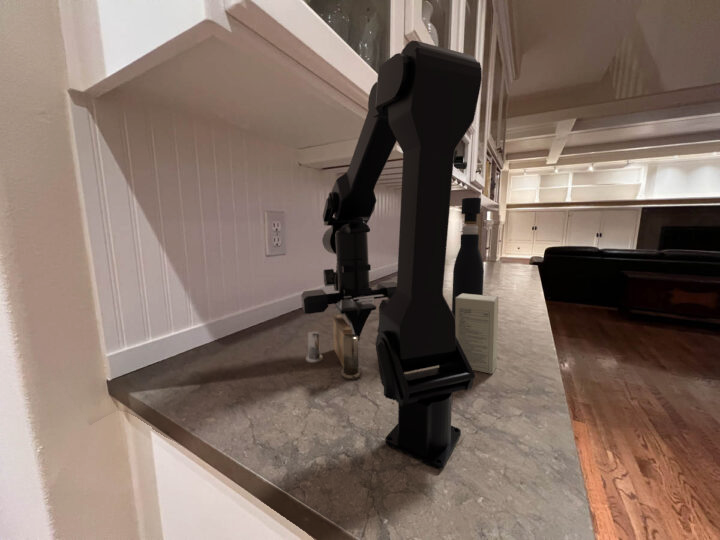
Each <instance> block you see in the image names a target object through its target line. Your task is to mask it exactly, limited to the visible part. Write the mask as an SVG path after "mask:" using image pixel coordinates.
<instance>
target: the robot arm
mask: <svg viewBox="0 0 720 540" xmlns="http://www.w3.org/2000/svg"><path fill="white" fill-rule="evenodd" d="M482 72H483V70H482V65H481V62H480V61H477V59H476V57H474V56H473V54H467V53H463V52H461V51H456V50H453V49H449V48H445V47H441V46H439V45H438V46H437V45H435V44H430V43H426V42H422V41H419V40H411V41H409V42H408V43H406V45H405V46H404V47H403V49H402V50H401V52H397V53H395V54H394V55H392V56H391V57H390V58H389V59H387V60H385V62H383V63H381V65H379V66H378V68H377V79H376V80H377V81H376V82H374V84H373V85H372V86H371V89H370V90H369V91H370V92H369V95H368V103H367V109H368V111H367V114H366V117H365V120H364V123H363V125H362V129H361V131H360V133H359V138H358V140H357V143H356V146H355V149H354V152H353V155H352V158H351V161H350V163H349V166H348V168H347V171H346V172H345V173H344V174H342V175H341V176H339V177H338V178H337V179H336V180H335V182H334V185H333V187H332V188H331V191H330V192H329V193H328V196H327V198H326V200H325V204H324V209H323V214H322V220H323V225H324V226H325V227H326V226H331V227H329V228H328V229H326V231H325V232H324V234H323V236H322V240H321V243H322V246H323V248H324V249H325V250H326V251H327V252H328V253H330V254H332V255H336V264H335V265H336V266H335V268H336V271H335V270H334V269H333V268H328V269H324V270H323V283H324V287H333V290H334V291H335V292H334V293H333V292H331V293H326V292H325V291H324V289H323V288H322V289H314V290H313V289H312V290H304V291H303V292H302V293H301V295H300V298H301V308H302V310H303V312H304V314H308V315H312V314H318V313H324V312H326V310H327V309H328V308H329V305H334V306H335V308H336V310H337V311H338V312H339V313H340V315H345V317H346V319H347V321H348V325H349V326H350V328H351V329H352V334H355V335H357V336H358V343H360V338H361V334H362V331H363V329H364V326H365V324H366V322H367V320H368V319H369V317H370V315H371V313H372V311H375V310H377V305H375V304H374V302H375V300H377V299H381V301H380V304H379V306H378V327H377V336H376V339H375V351H376V356H377V357H376V358H377V364H378V371H379V378H380V381H381V382H380V383H381V386H382V387H383V396H384V397H385V399H390V400H392V401H396V403H397V404H398V407H397V408H398V411H397V412H398V414H397V417H398V418H397V424H396V425H395V426H394V428H392V429H391V431H390V432H389V433H388V434H387V435H386V436H385V445H387V446H390V447H392V448H394V449H395V450H397V451H399V452H402V453H404V454H406V455H408V456H410V457H412V458H415V459H417V460H418V461H420V462H423V463H425V464H427V465H429V466H431V467H433V468H435V469H438V470H442V469H444V468H445V466H446V464H447V463H448V460H449V458H450V456H451V455H452V453H453V450H454V449H455V447H456V445H457V443H458V441H459V439H460V437H461V435H462V434H461V433H462V431H461V429H460V428H459V427H456V426H453V425H452V412H453V409H452V406H453V393H457V392H458V393H459V392H461V391H462V392H463V391H469V390H471V388H472V387H473V383H474V381H475V378H476V374H475V372H474V370H472V368H471V366H470V364H469V362H468V360H467V358H466V356H465V354H464V352H463V350H462V348H461V346H460V344H459V342H458V340H457V338H456V324H455V317H454V315H453V313H452V308H450V306H449V304H448V301H447V300H446V298H445V296H444V282H445V280H444V279H445V271H446V258H447V245H448V236H449V235H448V234H449V233H448V232H449V222H450V220H449V219H450V208H451V196H452V183H453V173H454V162H455V161H454V160H455V153H456V149H457V148H458V146H459V145H460V143H461V142H462V140H463V139H464V137H465V136H466V134H467V132H468V131H469V129H470V128H471V126H472V124H473V123H474V121H475V116H476V112H477V106H478V101H479V97H480V91H481V87H482V80H483V79H482V78H483V77H482V76H483V75H482ZM397 143H398V145H399V147H400V149H401V152H402V171H401V175H402V176H401V194H400V195H401V196H400V211H399V212H400V216H399V237H398V238H399V239H398V257H397V274H396V275H397V277H396V282H395V281H388V282H378V283H377V284H376V285H377V286H376V288H372V287H371V286H370V271H371V269H372V268H371V267H372V266H371V264H370V262H369V244H368V243H369V241H368V237H369V236H368V233H370V231H371V228H370V226H369V225H368V223H369V221H370V218H371V217H372V216H373V213H374V211H375V207H376V203H377V197H376V194H375V188H376V186H377V183H378V181H379V180H380V178H381V175H382V173H383V171H384V168H385V166H386V165H387V162H388V160H389V158H390V156H391V155H392V154H391V153H392V151H394V148H395V145H396V144H397ZM384 298H386V299H384ZM432 367H434V368H432ZM428 368H429V369H428ZM418 370H419V371H418ZM413 371H414V372H413ZM409 372H410V373H409Z"/></svg>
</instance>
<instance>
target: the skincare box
mask: <svg viewBox="0 0 720 540" xmlns="http://www.w3.org/2000/svg"><path fill="white" fill-rule="evenodd" d="M455 324H456V338H457V340H458V342H459V344H460V346H461V348H462V350H463V352H464V354H465V356H466V358H467V360H468V362H469V364H470V366H471V368H472V370H473V371H477V372H482V373H487V374H491V375H493V374H494V371H495V369H496V368H497V362H498V335H499V333H498V329H499V328H498V327H499V326H498V325H499V296H498V295H497V296H496V295H486V294H483V295H475V294H464V293H462V294H461V295H459V296H457V297H456V298H455Z"/></svg>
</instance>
